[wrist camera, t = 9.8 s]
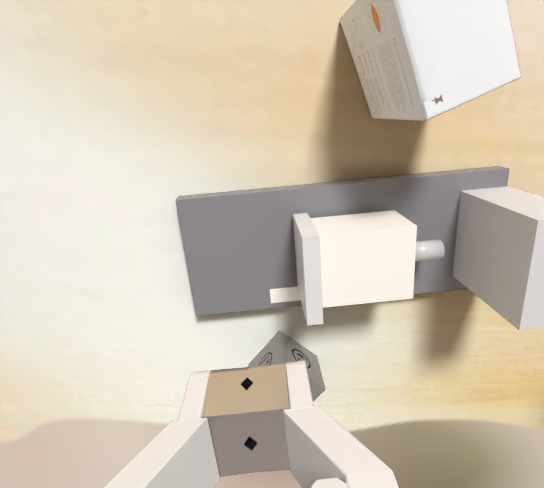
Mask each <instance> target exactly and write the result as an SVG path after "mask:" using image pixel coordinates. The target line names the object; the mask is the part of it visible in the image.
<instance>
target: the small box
mask: <svg viewBox="0 0 544 488" xmlns="http://www.w3.org/2000/svg"><path fill="white" fill-rule="evenodd" d="M340 23H341V25H342V28H343V31H344V34H345V37H346V40H347V43H348V46H349V49H350V52H351V55H352V58H353V61H354V64H355V67H356V70H357V73H358V76H359V79H360V83H361V86H362V89H363V91H364V94H365V97H366V100H367V103H368V106H369V110H370V113H371V116H372V118H373V119H398V120H421V121H426V120H429V119H431V118H434V117H436V116H438V115H440V114H442V113H444V112H447V111H449V110H451V109H453V108H455V107H458V106H460V105H462V104H464V103H466V102H468V101H471V100H473V99H475V98H477V97H479V96H482V95H484V94H486V93H488V92H490V91H493V90H495V89H497V88H499V87H501V86H504V85H506V84H508V83H510V82H512V81H515V80H517V79H519V78H520V77H521V72H520V67H519V62H518V56H517V51H516V45H515V40H514V36H513V30H512V25H511V20H510V15H509V9H508V4H507V0H356V1H355V2H354V3H353V5H352V6H351V7H350V8H349V9H348V10H347V11H346V13H345V14H344V15H343V16H342V17H341V18H340Z"/></svg>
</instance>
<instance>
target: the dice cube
mask: <svg viewBox="0 0 544 488" xmlns="http://www.w3.org/2000/svg"><path fill="white" fill-rule="evenodd" d="M296 361H305V363H306V367H307V373H308V379H309V384H310V390H311V395H312V401H314V400H315V399H316V398H317V397H318V396H319V395H320V394H321V393H322V392H323V391H324V390H326V389H325V385H324V382H323V378H322V374H321V370H320V367H319V363H318V359H317V356H316V355H315V354H313V353H312V352H310V351H309V350H307V349H306V348H304V347H303V346H301V345H300V344H298V343H297V342H295V341H294V340H292V339H291V338H289V337H288V336H286V335H285V334H283V333H282V332H281V331H279V332H278V333H277V334H276V335H275V336H274V337H273V338H272V339H271V340H270V342H269V343H268V344H267V345H266V346H265V347H264V348H263V349H262V350H261V351H260V352H259V353H258V355H257V356H256V357H255V358H254V359H253V360H252V361H251V362H250V363H249V367H258V366H267V365H276V364H285V366H286V363H289V362H296ZM286 374H287V373H286Z"/></svg>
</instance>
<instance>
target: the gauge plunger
mask: <svg viewBox="0 0 544 488" xmlns="http://www.w3.org/2000/svg"><path fill="white" fill-rule="evenodd" d="M293 224H294V239H295V254H296V269H297V284H298V291H299V295H300V299H301V303H302V307H303V311H304V315H305V318H306V322H307V326H309V325H318V324H323V308H325V307H335V306H344V305H354V304H364V303H374V302H384V301H394V300H404V299H413V290H414V272H415V261H425V260H435V259H442V258H443V257H444V253H445V249H444V245H443V242H442V241H441V240H439V239H438V240H428V241H418V242H416V235H417V225H415V224H414V223H412V222H411V221H409V220H408V219H406V218H405V217H404V216H402V215H401V214H399V213H398V212H396V211H395V210H391V211H380V212H370V213H360V214H349V215H339V216H329V217H318V218H310V217H309V215H308V213H300V214H293Z"/></svg>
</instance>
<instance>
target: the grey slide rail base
mask: <svg viewBox="0 0 544 488" xmlns="http://www.w3.org/2000/svg"><path fill="white" fill-rule="evenodd" d="M508 174H509V169H508V168H504V167H500V166H494V167H484V168H473V169H462V170H452V171H441V172H431V173H420V174H409V175H399V176H388V177H378V178H367V179H356V180H346V181H335V182H325V183H314V184H303V185H293V186H282V187H272V188H261V189H250V190H240V191H229V192H219V193H208V194H197V195H187V196H179V197H178V198H177V199H176V206H177V211H178V217H179V222H180V228H181V234H182V239H183V245H184V250H185V256H186V262H187V267H188V273H189V278H190V284H191V290H192V295H193V301H194V306H195V312H196V316H202V315H212V314H222V313H232V312H241V311H251V310H261V309H271V308H281V307H291V306H301V305H302V303H301V299H300V295H299V291H298V284H297V269H296V254H295V239H294V224H293V214H300V213H308V215H309V217H310V218H318V217H329V216H339V215H349V214H360V213H370V212H380V211H391V210H395V211H396V212H398V213H399V214H401V215H402V216H404V217H405V218H406V219H408V220H409V221H411V222H412V223H414V224H415V225H417V235H416V242H418V241H428V240H438V239H439V240H441V241H442V242H443V245H444V249H445V253H444V257H443V258H442V259H435V260H425V261H415V272H414V290H413V294H419V293H429V292H439V291H449V290H459V289H469V290H471V291H472V292H473V293H474V294H475V295H477V296H478V297H479V298H480V299H482V300H483V301H484V302H485V303H486V304H488V305H489V306H490V307H491V308H493V309H494V310H495V311H496V312H497V313H499V314H500V315H501V316H502V317H503V318H505V319H506V320H507V321H508V322H510V323H511V324H512V325H513V326H514V327H516V328H517V329H518V330H528V329H538V328H544V197H541V196H538V195H534V194H531V193H528V192H524V191H521V190H518V189H514V188H511V187H507V181H508Z"/></svg>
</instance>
